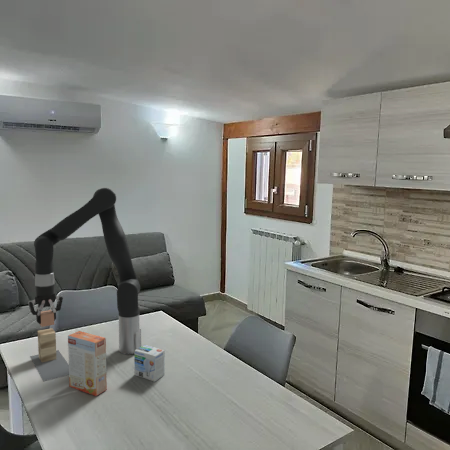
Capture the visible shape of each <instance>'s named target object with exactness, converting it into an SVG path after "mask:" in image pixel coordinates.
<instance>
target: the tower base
mask: <svg viewBox="0 0 450 450" xmlns="http://www.w3.org/2000/svg"><path fill="white" fill-rule="evenodd" d="M37 347H38V349H37V351H38V354H39V359H40V360H41V362H46V361H51V360H55V359H56V351H57V345H56V346H54V347H49V348H44V349H41V348H40V346H39V345H38V344H37Z"/></svg>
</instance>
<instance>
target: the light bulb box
mask: <svg viewBox="0 0 450 450" xmlns="http://www.w3.org/2000/svg"><path fill="white" fill-rule="evenodd" d="M165 351H166V350H165V349H161V348H158V347H154V346H151V345H146V344H144V345H141V347H140V348H138V349H136V350H135V351H134V354H133V355H134V359H133V360H134V362H133V364H134V367H133V369H134V374H133V375H134V376H136V377H139V378H143V379H146V380H149V381H151V382H156V381H158V380H159V379H160V378H162V377H164V376H165V373H166V372H165V364H166V363H165V357H166V356H165V354H166V353H165Z"/></svg>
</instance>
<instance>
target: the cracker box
mask: <svg viewBox="0 0 450 450" xmlns="http://www.w3.org/2000/svg"><path fill="white" fill-rule="evenodd" d="M67 346H68V348H67V349H68V350H67V352H68V364H69V375H68V380H69V381H68V382H69V386H68V387H70V388H72V389H76V390H77V391H80V392H83V393H85V394H89V395H91V396H95V397H97V396H99V395H100V394H102V393H104V392H106V391H107V389H108V388H107V385H108V383H107V381H108V380H107V379H108V378H107V338H106V337H103V336H100V335H97V334H93V333H89V332H88V333H87V332H84V331H80V330H78V331H75V332H73V333H70V334H69V335H67Z"/></svg>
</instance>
